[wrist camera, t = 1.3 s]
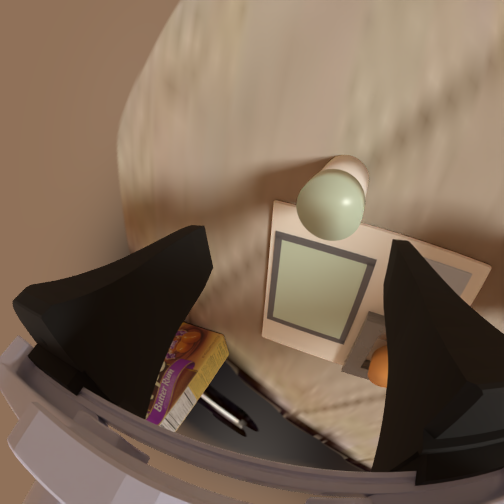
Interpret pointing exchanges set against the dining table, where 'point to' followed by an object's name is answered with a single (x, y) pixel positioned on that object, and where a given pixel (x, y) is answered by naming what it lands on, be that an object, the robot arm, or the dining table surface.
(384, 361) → the button
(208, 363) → the candy box
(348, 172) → the marker
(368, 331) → the button base
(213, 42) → the dining table surface
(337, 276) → the picture board
